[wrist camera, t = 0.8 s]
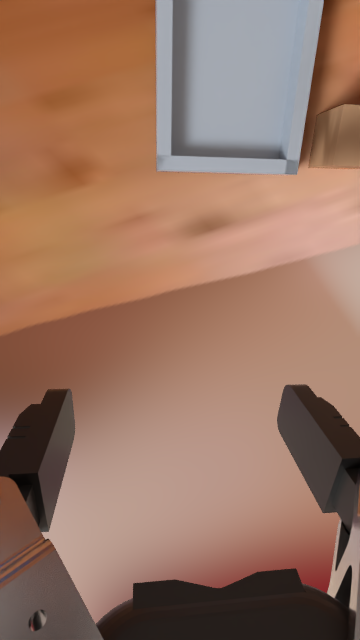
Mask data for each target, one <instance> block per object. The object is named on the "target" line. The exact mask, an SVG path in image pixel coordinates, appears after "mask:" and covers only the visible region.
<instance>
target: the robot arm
mask: <svg viewBox="0 0 360 640" xmlns="http://www.w3.org/2000/svg"><path fill="white" fill-rule="evenodd" d="M277 423H278V429H279V432H280V434H281V436H282V438H283V440H284V442H285V443H286V445H287V447H288V449H289V451H290V453H291V455H292V456H293V458H294V460H295V462H296V464H297V466H298V467H299V469H300V471H301V473H302V475H303V477H304V478H305V481H306V482H307V484H308V486H309V488H310V490H311V491H312V493H313V495H314V497H315V499H316V501H317V503H318V505H319V506H320V508H321V510H322V512H323V513H332V512H337V513H338V515H339V516H340V518H341V519H340V522H339V525H338V530H337V537H336V544H335V552H334V559H333V566H332V574H331V580H330V584H329V589H328V592H327V593H325V592H323V591H321V590H319V589H317V588H314V587H311V586H309V585H306V584H302V583H301V580H300V578H299V575H298V572H297V570H296V569H284V570H274V571H263V572H257V573H254V574H252V575H250V576H248V577H245V578H243V579H241V580H239V581H237V582H234V583H232V584H230V585H228V586H226V587H223V588H212V587H207V586H203V585H198V584H193V583H189V582H184V581H179V580H166V581H155V582H144V583H134V584H133V598H132V599H130V600H128V601H125V602H123V603H122V604H120V605H118V606H117V607H115V608H114V609H112V610H111V611H110V612H109V613H107V614H106V615H105V616H103V618H101V619H100V620H99V622H97V623H96V624H95V622H94V621H93V619H92V617H91V615H90V613H89V611H88V609H87V607H86V605H85V604H84V602H83V600H82V598H81V596H80V594H79V592H78V591H77V589H76V587H75V585H74V583H73V581H72V579H71V577H70V575H69V574H68V572H67V570H66V568H65V566H64V564H63V562H62V560H61V558H60V557H59V555H58V553H57V551H56V549H55V547H54V545H53V544H52V542H51V541H50V540H49V539H46V540H45V538H44V537H43V535H42V533H41V532H48V531H49V528H50V525H51V521H52V518H53V514H54V510H55V506H56V503H57V499H58V495H59V491H60V488H61V484H62V481H63V477H64V473H65V469H66V466H67V462H68V459H69V455H70V451H71V448H72V443H73V440H74V434H75V420H74V411H73V401H72V392H71V390H70V389H48V390H47V392H46V394H45V396H44V398H43V400H42V403H41V404H31V405H30V406H29V407H27V408H26V409H25V410H24V411H23V412H22V413H21V414H20V415H19V416H18V418H17V420H16V422H15V424H14V426H13V429H11V431H10V433H9V435H8V439H6V441H5V443H4V444H3V446H2V448H1V450H0V640H360V437H359V436H358V435H357V434H356V432H355V431H354V430H353V429H352V428H351V427H349V424H348V423H347V422H346V421H345V420H344V418H342V416H341V415H340V414H339V412H338V411H337V410H336V409H335V407H334V406H332V405H331V404H330V403H328V402H327V401H325V400H324V399H322V398H321V397H317V396H316V395H315V394H314V393H313V391H312V390H311V389H310V388H309V386H307V385H286V386H285V387H284V390H283V394H282V399H281V403H280V408H279V412H278V417H277Z"/></svg>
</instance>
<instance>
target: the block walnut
mask: <svg viewBox="0 0 360 640" xmlns="http://www.w3.org/2000/svg"><path fill="white" fill-rule="evenodd" d="M308 168H333V169H358V168H360V105H351V104H343V105H341V106H338V107H336V108H333V109H331V110H328V111H326V112H324V113H321V114H319V115H317V119H316V125H315V131H314V137H313V143H312V149H311V155H310V161H309V167H308Z"/></svg>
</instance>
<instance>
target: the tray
mask: <svg viewBox="0 0 360 640" xmlns="http://www.w3.org/2000/svg"><path fill="white" fill-rule="evenodd" d="M323 3H324V0H156V171H160V172H193V173H227V174H260V175H297V172H298V165H299V159H300V152H301V146H302V139H303V133H304V126H305V120H306V113H307V107H308V100H309V94H310V88H311V81H312V75H313V68H314V62H315V55H316V49H317V42H318V36H319V29H320V23H321V16H322V10H323Z"/></svg>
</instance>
